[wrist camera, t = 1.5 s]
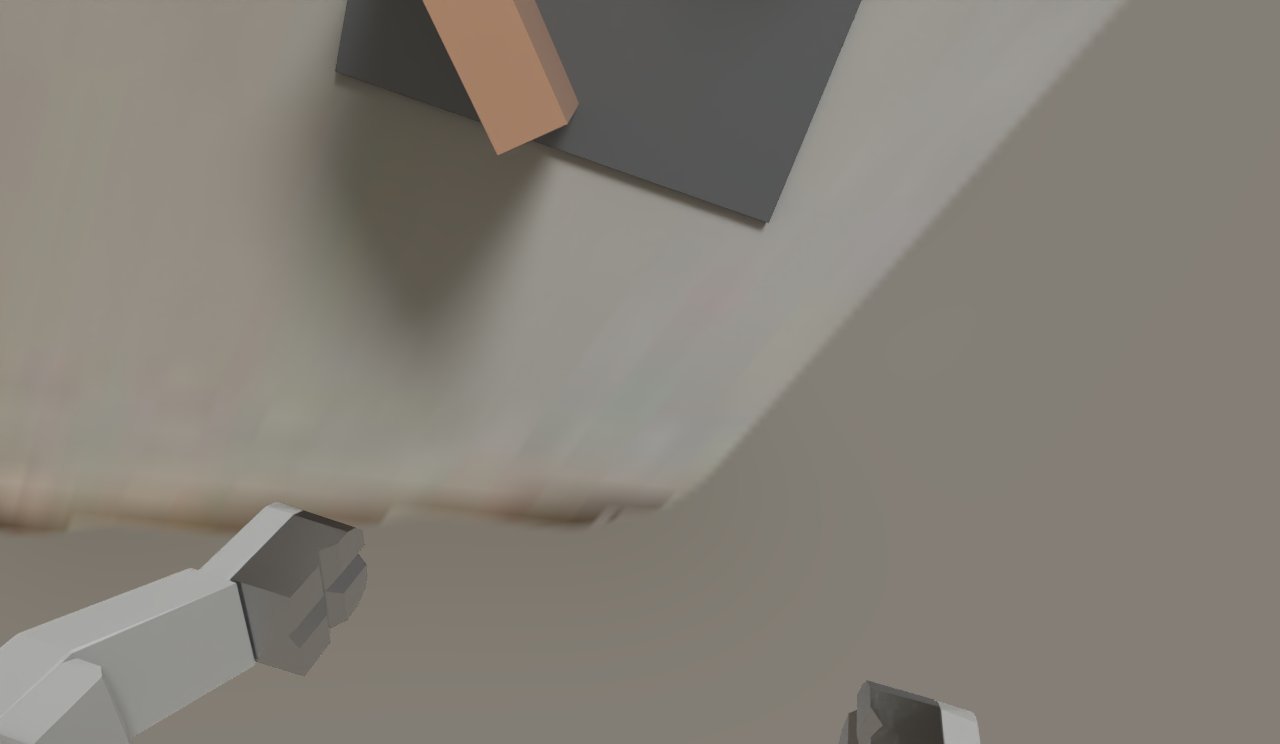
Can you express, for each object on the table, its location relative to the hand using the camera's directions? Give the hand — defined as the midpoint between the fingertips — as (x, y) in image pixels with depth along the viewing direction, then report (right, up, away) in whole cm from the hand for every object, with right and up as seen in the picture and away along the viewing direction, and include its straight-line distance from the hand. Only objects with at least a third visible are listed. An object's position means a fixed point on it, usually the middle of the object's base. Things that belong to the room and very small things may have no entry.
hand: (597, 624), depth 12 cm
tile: (-6, +22, +25) cm, 34 cm away
